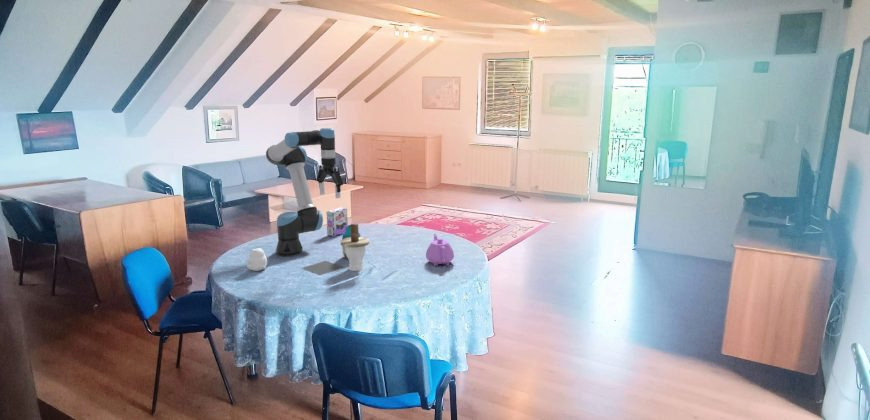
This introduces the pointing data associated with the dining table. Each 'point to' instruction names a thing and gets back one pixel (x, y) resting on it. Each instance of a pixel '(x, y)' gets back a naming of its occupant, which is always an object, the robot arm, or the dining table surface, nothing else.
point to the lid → (354, 238)
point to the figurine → (257, 260)
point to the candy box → (336, 221)
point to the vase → (347, 235)
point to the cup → (355, 257)
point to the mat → (322, 267)
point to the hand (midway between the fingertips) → (330, 196)
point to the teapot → (439, 252)
